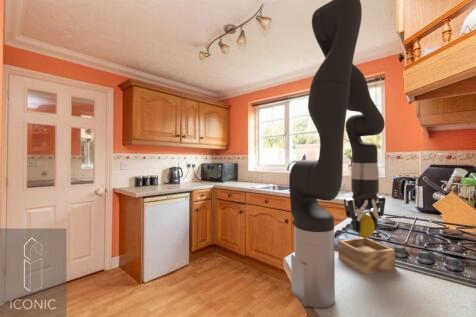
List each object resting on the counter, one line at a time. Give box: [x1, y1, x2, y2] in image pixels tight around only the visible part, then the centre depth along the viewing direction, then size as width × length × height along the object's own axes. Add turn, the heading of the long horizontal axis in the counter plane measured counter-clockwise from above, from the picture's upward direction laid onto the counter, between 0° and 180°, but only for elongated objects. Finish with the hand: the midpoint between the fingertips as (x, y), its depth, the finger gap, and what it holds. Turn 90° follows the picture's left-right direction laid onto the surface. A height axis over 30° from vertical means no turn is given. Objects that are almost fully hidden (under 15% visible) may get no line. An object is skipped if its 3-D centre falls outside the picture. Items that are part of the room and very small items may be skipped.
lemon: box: [357, 212, 376, 238], centre depth 72 cm, size 6×6×8 cm
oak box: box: [337, 236, 396, 275], centre depth 72 cm, size 11×11×6 cm
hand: (365, 230), depth 72 cm, fingers closed on lemon, 5 cm apart
